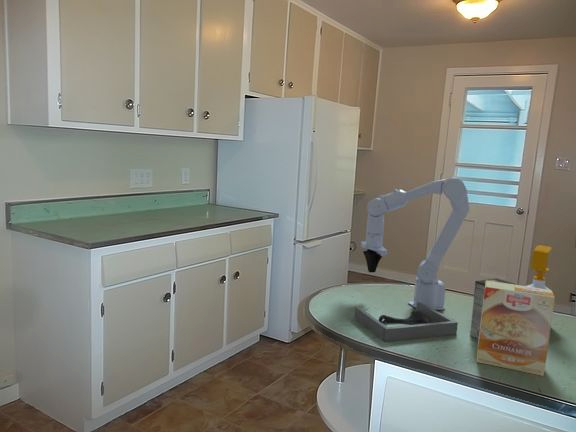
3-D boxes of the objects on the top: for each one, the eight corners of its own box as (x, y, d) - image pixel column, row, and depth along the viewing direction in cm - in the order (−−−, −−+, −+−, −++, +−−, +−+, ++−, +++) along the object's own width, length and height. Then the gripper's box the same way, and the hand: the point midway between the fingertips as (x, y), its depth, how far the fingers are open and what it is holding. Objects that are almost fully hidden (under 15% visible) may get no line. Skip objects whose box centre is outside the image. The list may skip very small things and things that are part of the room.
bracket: (371, 315, 144) (372, 307, 144) (416, 315, 146) (417, 307, 146) (387, 334, 130) (388, 324, 130) (436, 333, 132) (437, 324, 132)
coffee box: (490, 330, 135) (497, 277, 132) (510, 338, 129) (516, 283, 127) (468, 334, 130) (475, 280, 128) (487, 343, 125) (494, 286, 123)
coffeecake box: (476, 362, 113) (484, 286, 110) (476, 351, 119) (485, 279, 117) (544, 377, 107) (555, 296, 104) (541, 364, 113) (552, 289, 111)
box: (419, 312, 147) (420, 302, 147) (456, 334, 131) (457, 322, 130) (354, 318, 139) (355, 307, 139) (385, 341, 123) (386, 329, 122)
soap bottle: (553, 324, 142) (564, 247, 139) (545, 332, 136) (556, 251, 132) (522, 316, 148) (532, 242, 145) (513, 323, 142) (523, 245, 138)
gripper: (354, 229, 162) (351, 266, 163) (375, 237, 148) (372, 278, 150) (371, 229, 164) (369, 266, 166) (394, 237, 150) (390, 277, 152)
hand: (371, 271), depth 158 cm, fingers closed
